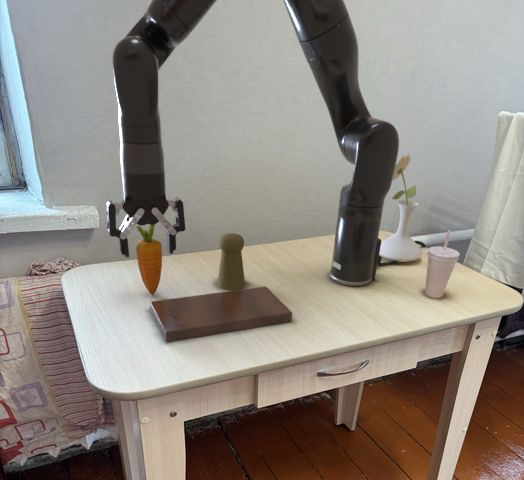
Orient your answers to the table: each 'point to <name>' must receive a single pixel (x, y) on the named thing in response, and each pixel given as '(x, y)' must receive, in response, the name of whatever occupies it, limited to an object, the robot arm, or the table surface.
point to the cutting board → (218, 313)
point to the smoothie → (439, 268)
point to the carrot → (149, 259)
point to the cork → (231, 262)
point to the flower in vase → (402, 223)
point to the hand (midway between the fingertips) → (148, 254)
